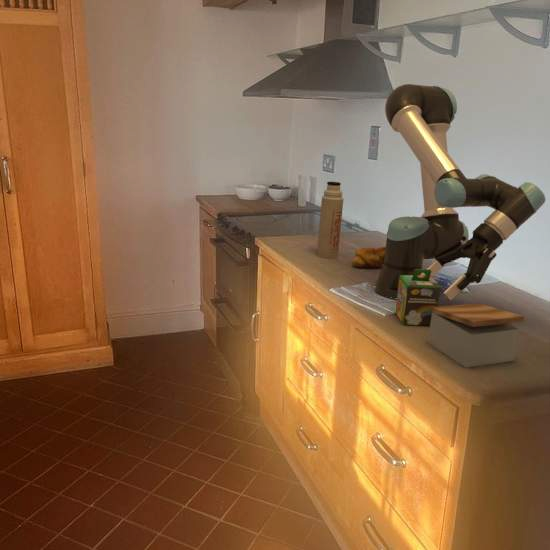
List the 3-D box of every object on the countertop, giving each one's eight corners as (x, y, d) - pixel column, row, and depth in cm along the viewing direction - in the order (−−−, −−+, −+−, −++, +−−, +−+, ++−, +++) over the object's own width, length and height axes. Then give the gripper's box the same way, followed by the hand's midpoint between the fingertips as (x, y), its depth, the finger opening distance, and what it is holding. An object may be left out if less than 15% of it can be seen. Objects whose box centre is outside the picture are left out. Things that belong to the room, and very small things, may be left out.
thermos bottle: (341, 258, 208) (349, 183, 200) (323, 259, 205) (330, 183, 197) (331, 252, 215) (338, 180, 207) (313, 253, 212) (319, 180, 204)
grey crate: (427, 342, 136) (432, 312, 134) (472, 337, 141) (478, 307, 139) (465, 367, 124) (471, 334, 121) (513, 360, 129) (520, 329, 126)
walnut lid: (430, 311, 134) (430, 306, 134) (477, 307, 139) (477, 302, 139) (473, 326, 120) (473, 321, 120) (523, 321, 126) (523, 316, 125)
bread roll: (357, 270, 193) (359, 248, 191) (345, 263, 202) (347, 241, 200) (389, 269, 197) (392, 248, 195) (376, 262, 206) (379, 241, 204)
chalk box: (426, 314, 155) (433, 264, 151) (436, 327, 146) (444, 273, 142) (393, 313, 155) (400, 262, 150) (402, 325, 146) (409, 272, 142)
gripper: (531, 253, 135) (467, 313, 136) (474, 231, 158) (420, 282, 159) (515, 233, 132) (450, 294, 133) (460, 212, 156) (405, 265, 157)
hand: (434, 288), depth 146 cm, fingers open, 13 cm apart
